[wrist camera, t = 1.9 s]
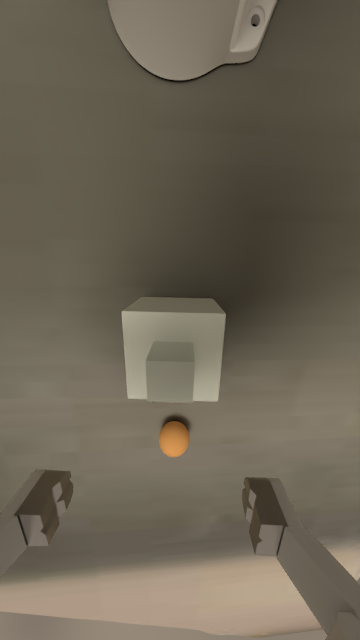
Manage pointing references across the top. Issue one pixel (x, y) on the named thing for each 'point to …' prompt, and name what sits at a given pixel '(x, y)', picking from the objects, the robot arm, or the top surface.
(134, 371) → the pale sage box
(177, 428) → the ball
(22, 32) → the top surface
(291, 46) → the top surface
